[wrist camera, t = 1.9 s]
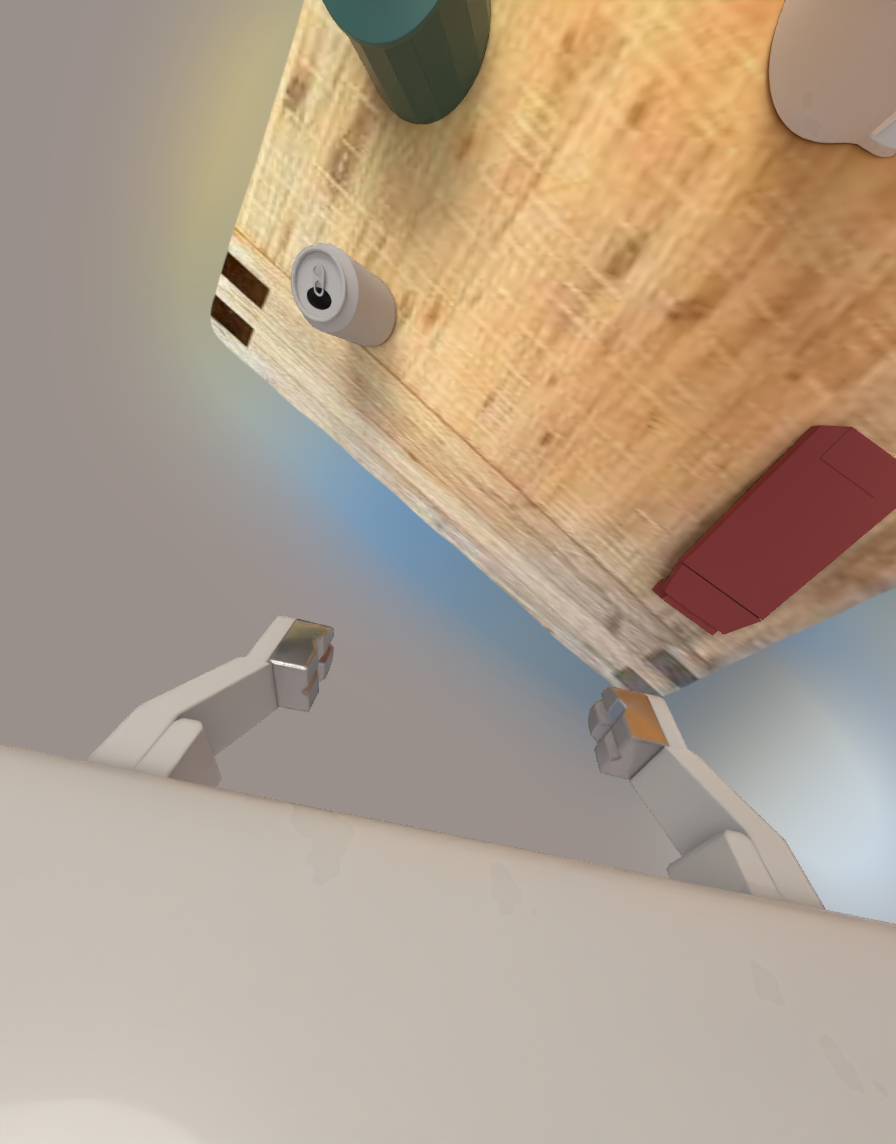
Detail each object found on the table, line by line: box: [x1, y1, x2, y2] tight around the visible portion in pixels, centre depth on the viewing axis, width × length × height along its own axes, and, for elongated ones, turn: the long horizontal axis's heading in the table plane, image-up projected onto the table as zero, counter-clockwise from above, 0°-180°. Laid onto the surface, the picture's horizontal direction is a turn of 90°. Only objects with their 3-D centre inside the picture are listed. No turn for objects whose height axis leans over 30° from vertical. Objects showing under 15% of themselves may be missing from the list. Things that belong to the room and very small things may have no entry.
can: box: [291, 243, 396, 347], centre depth 40 cm, size 8×8×12 cm
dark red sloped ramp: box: [652, 426, 896, 635], centre depth 43 cm, size 12×5×25 cm
